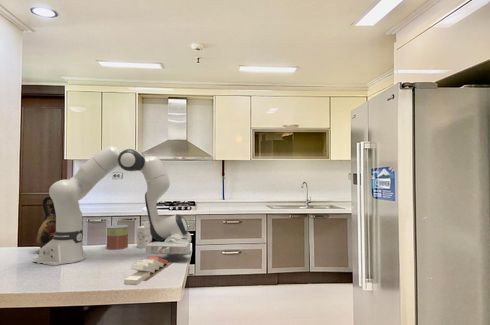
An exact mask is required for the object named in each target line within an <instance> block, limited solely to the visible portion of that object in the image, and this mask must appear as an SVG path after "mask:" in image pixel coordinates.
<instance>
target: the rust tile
mask: <svg viewBox="0 0 490 325" xmlns="http://www.w3.org/2000/svg"><path fill="white" fill-rule="evenodd" d="M146 259H150V260H156V261H159V262H161V263H164V264H167V263H168V262H169V261H168V260H167V259H165V258H161V257H160V256H146Z"/></svg>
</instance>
